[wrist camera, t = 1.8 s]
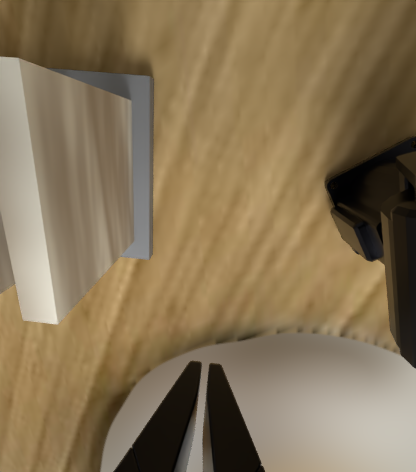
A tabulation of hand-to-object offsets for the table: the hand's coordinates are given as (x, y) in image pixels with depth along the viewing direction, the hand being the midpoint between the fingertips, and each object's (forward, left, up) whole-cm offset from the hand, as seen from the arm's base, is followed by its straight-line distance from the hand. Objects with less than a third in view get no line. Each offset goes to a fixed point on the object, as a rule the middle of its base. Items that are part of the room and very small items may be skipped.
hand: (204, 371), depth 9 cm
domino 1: (+3, -8, -12) cm, 15 cm away
